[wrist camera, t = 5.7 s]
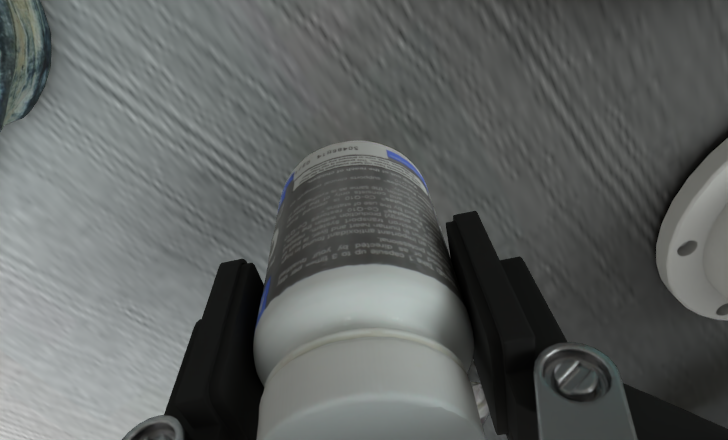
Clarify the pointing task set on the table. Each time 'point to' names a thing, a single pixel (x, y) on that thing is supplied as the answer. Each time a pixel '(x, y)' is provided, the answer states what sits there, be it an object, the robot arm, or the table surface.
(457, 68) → the table surface
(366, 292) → the pill bottle
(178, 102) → the table surface
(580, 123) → the table surface
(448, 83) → the table surface
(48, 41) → the seashell
